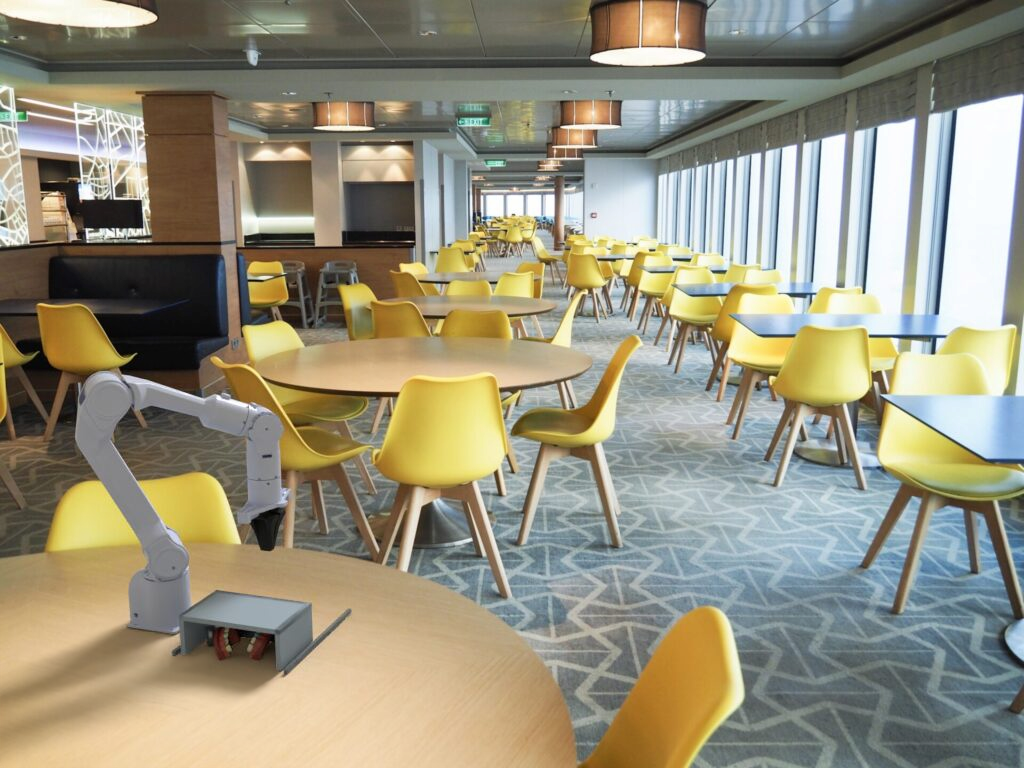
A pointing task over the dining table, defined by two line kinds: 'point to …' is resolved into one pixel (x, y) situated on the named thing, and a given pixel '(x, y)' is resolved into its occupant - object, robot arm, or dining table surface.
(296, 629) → the housing
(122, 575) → the dining table surface
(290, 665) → the pin seat
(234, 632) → the dentures
